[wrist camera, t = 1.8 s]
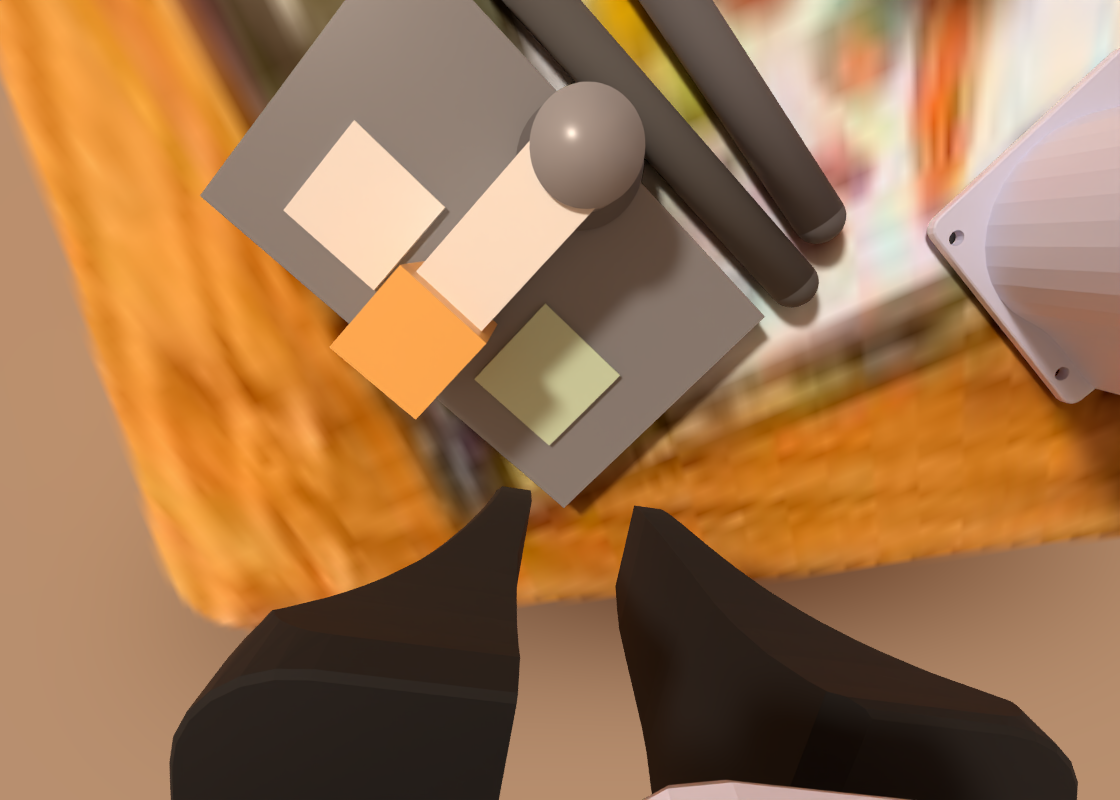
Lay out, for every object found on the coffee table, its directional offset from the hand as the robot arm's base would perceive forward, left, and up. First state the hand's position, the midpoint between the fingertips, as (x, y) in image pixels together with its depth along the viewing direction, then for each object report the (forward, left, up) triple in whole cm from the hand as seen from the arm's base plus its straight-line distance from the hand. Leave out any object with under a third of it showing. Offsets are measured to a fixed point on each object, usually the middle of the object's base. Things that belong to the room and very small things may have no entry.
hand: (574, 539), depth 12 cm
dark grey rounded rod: (+4, -12, -9) cm, 15 cm away
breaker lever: (+5, -3, -8) cm, 10 cm away
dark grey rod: (+5, -9, -9) cm, 14 cm away
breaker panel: (+6, -3, -9) cm, 11 cm away
